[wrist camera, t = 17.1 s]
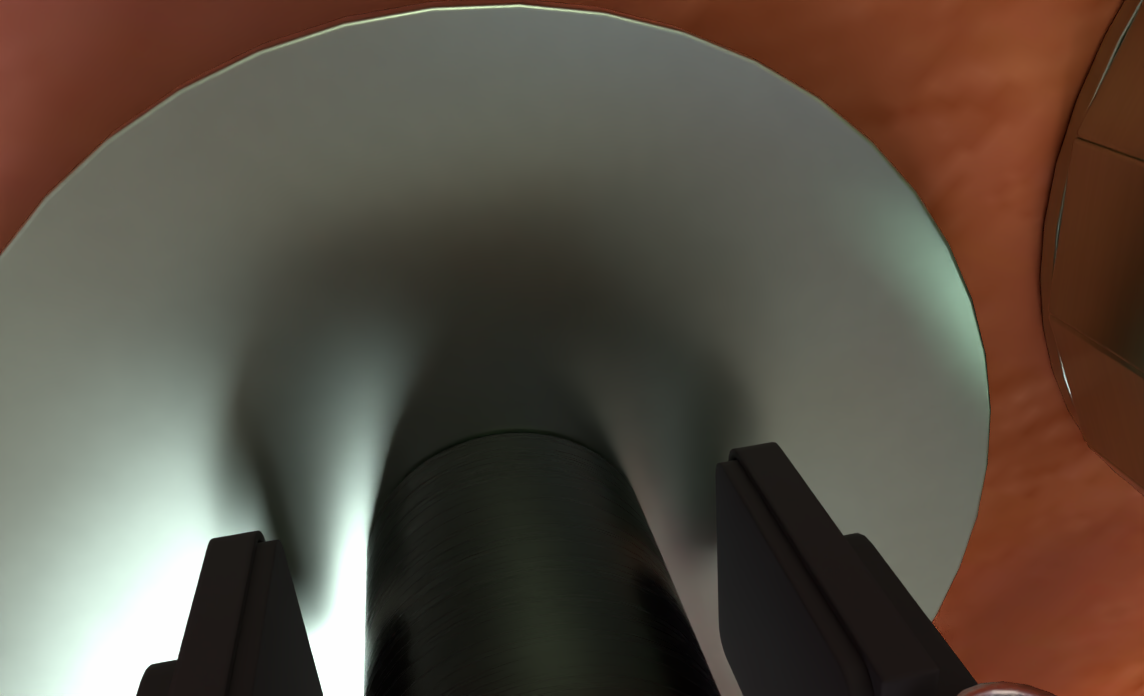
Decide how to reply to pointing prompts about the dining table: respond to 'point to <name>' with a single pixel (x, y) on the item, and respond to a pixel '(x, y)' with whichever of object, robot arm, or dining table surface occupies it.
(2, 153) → the dining table surface
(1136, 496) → the dining table surface
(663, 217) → the lid
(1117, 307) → the pan
